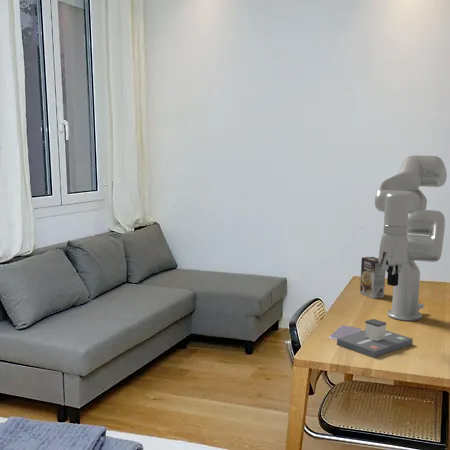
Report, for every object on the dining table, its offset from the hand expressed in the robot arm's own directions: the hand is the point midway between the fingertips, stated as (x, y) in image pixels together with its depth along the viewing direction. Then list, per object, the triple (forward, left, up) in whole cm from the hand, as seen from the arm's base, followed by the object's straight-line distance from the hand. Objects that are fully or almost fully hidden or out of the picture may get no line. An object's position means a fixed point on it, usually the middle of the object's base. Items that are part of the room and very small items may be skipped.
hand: (392, 284), depth 197 cm
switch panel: (+8, 0, -19) cm, 21 cm away
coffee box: (-42, -40, -19) cm, 61 cm away
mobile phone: (+7, -13, -20) cm, 25 cm away
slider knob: (+8, 0, -17) cm, 19 cm away
